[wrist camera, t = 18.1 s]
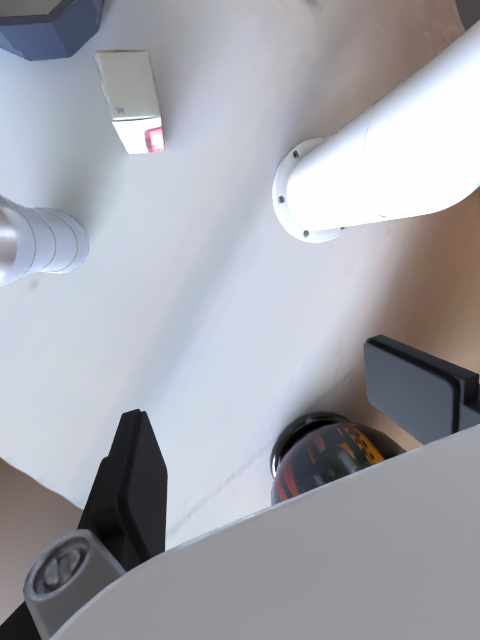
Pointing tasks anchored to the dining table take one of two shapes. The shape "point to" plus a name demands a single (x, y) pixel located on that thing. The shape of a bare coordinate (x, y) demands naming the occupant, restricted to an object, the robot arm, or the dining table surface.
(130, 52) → the small box
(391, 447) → the amphora vase
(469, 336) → the dining table surface
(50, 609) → the robot arm
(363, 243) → the dining table surface
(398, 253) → the dining table surface
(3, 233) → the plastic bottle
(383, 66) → the dining table surface
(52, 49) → the ring
